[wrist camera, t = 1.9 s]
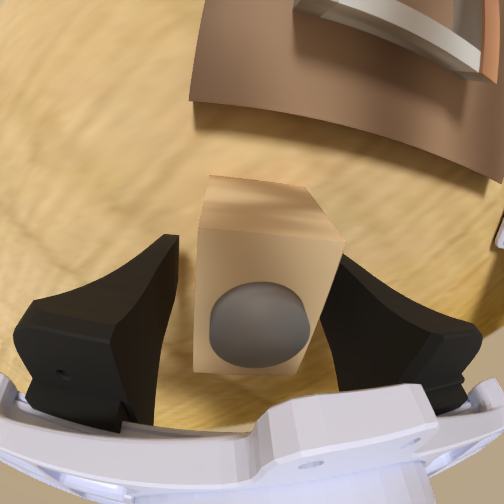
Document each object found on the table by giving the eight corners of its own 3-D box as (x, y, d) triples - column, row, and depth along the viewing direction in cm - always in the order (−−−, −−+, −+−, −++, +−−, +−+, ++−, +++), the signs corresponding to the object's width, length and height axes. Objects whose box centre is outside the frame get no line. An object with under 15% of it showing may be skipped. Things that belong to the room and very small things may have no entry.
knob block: (307, 186, 12) (361, 257, 7) (280, 297, 15) (302, 391, 10) (210, 174, 12) (195, 242, 7) (200, 291, 15) (192, 388, 10)
